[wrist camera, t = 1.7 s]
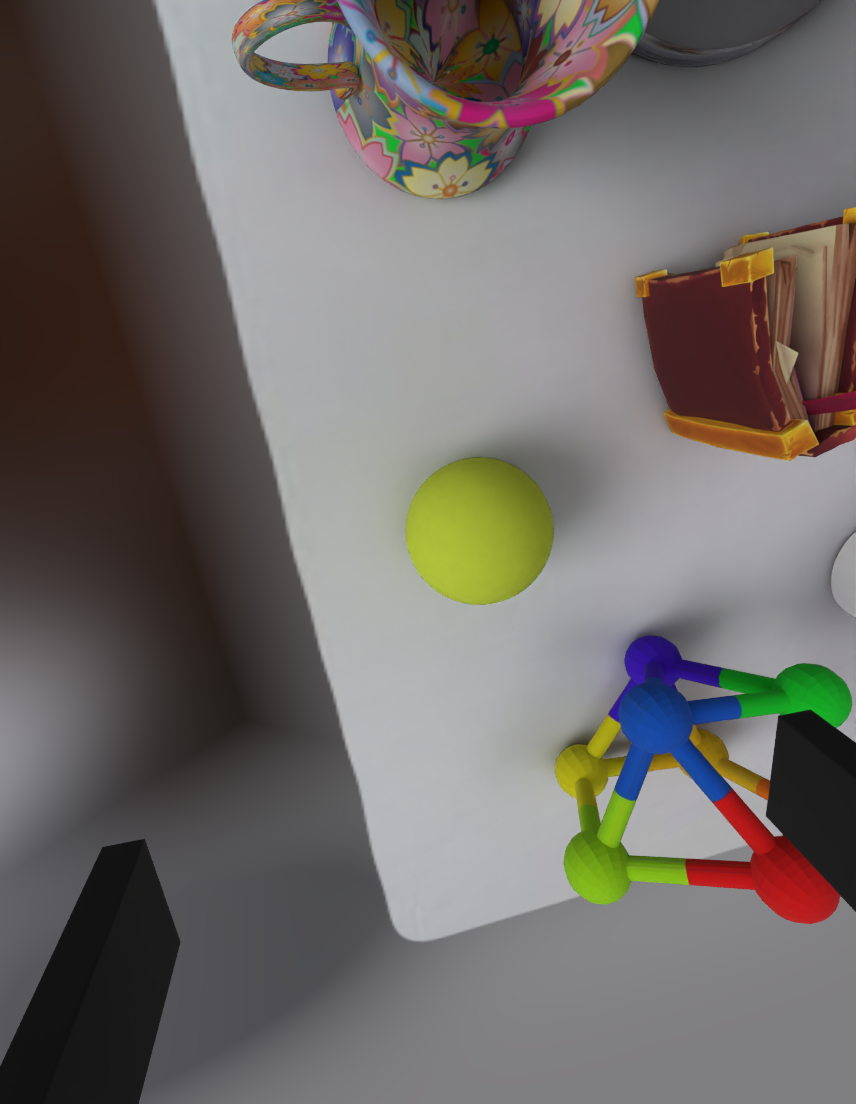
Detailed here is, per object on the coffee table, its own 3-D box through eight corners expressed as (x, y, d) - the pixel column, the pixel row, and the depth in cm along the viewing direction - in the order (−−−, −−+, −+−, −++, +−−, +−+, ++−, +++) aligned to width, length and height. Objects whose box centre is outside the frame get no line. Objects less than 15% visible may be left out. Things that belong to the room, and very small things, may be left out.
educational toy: (714, 562, 35) (1010, 691, 21) (722, 734, 39) (969, 935, 25) (473, 642, 32) (628, 852, 18) (511, 817, 37) (658, 1091, 23)
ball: (389, 456, 28) (407, 485, 22) (522, 438, 29) (576, 461, 23) (406, 583, 31) (426, 642, 24) (529, 563, 32) (579, 615, 25)
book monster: (621, 256, 27) (840, 220, 29) (627, 446, 30) (823, 403, 32) (808, 205, 17) (1122, 156, 19) (787, 493, 21) (1056, 429, 22)
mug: (504, -92, 22) (642, -449, 12) (563, 173, 26) (709, 58, 16) (212, 11, 22) (115, -272, 12) (310, 267, 25) (297, 209, 15)
